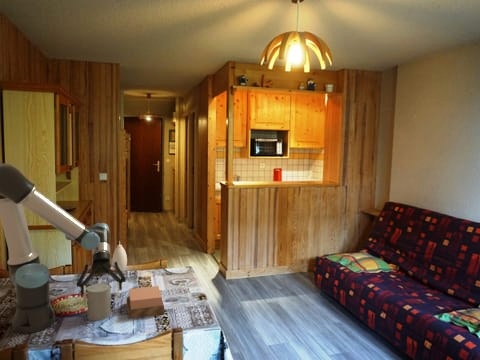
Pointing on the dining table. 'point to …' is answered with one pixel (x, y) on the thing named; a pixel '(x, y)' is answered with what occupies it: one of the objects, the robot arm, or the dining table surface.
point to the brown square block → (145, 297)
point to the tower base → (143, 310)
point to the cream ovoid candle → (120, 257)
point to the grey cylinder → (99, 301)
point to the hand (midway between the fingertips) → (101, 299)
